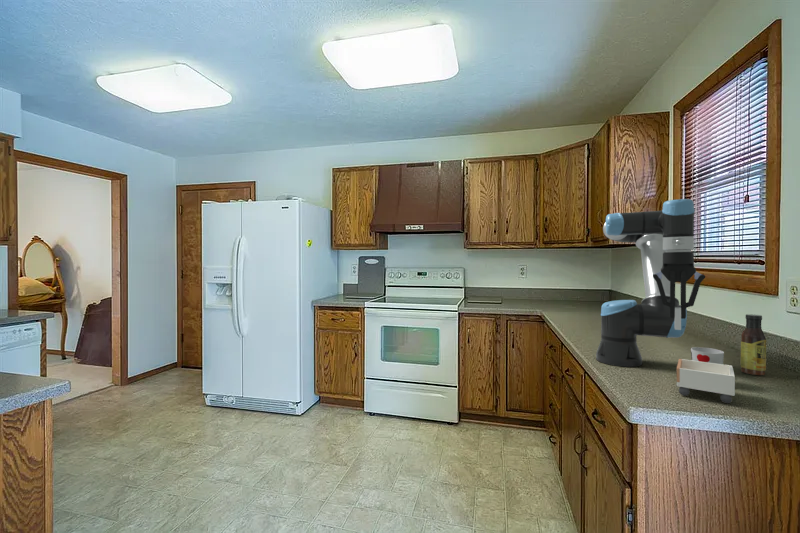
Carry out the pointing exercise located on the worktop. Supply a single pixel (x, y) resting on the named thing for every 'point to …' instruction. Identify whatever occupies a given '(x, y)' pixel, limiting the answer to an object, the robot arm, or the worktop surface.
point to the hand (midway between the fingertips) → (677, 328)
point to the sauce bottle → (753, 347)
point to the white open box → (706, 378)
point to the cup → (707, 355)
